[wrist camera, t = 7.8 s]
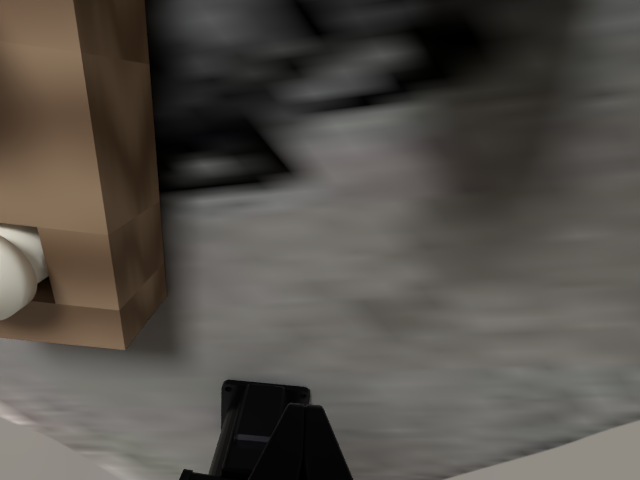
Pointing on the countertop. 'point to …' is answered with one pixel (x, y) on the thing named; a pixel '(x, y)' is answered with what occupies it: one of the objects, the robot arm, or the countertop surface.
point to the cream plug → (19, 267)
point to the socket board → (81, 167)
